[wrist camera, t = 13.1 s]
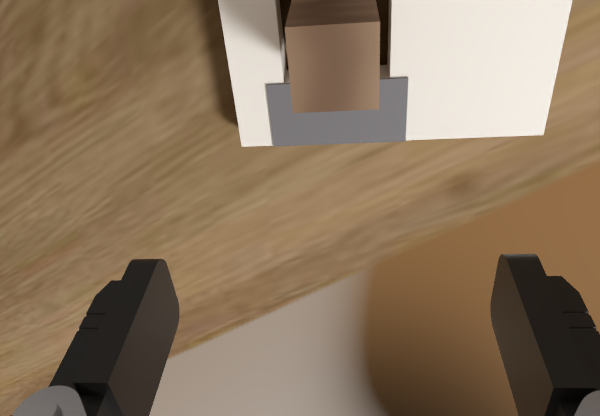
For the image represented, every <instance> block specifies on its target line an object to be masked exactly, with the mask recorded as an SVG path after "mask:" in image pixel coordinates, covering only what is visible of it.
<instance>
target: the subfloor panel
mask: <svg viewBox="0 0 600 416" xmlns="http://www.w3.org/2000/svg"><path fill="white" fill-rule="evenodd" d="M218 4H219V10H220V16H221V22H222V28H223V34H224V41H225V47H226V53H227V59H228V65H229V71H230V77H231V83H232V89H233V95H234V102H235V108H236V114H237V120H238V126H239V132H240V138H241V144H242V147H246V146H271V145H274V146H296V145H322V144H348V143H373V142H399V141H406V140H425V139H451V138H476V137H502V136H528V135H543V134H544V130H545V125H546V120H547V116H548V111H549V107H550V102H551V97H552V93H553V88H554V83H555V79H556V74H557V69H558V65H559V60H560V56H561V51H562V46H563V42H564V37H565V32H566V28H567V23H568V18H569V14H570V9H571V5H572V0H389V10H388V63H387V65H380V84H379V109H377V110H355V111H332V112H310V113H293V110H292V99H291V89H290V78H289V70H286V60H285V50H284V39H283V29H282V19H281V9H280V0H218Z"/></svg>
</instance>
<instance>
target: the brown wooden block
mask: <svg viewBox="0 0 600 416" xmlns="http://www.w3.org/2000/svg"><path fill="white" fill-rule="evenodd" d="M285 36H286V46H287V57H288V67H289V78H290V89H291V99H292V110H293V113H310V112H332V111H355V110H377V109H379V84H380V18H379V13H378V8H377V3H376V0H292V1H291V5H290V9H289V12H288V16H287V20H286V24H285Z"/></svg>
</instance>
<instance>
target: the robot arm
mask: <svg viewBox="0 0 600 416" xmlns="http://www.w3.org/2000/svg"><path fill="white" fill-rule="evenodd" d="M86 314H87V316H86V317H84V319H83V321H82V323H81V325H80V327H79V331H77V333H76V335H75V337H74V339H73V341H72V343H71V344H70V346H69V348H68V350H67V352H66V354H65V356H64V358H63V360H62V362H61V364H60V366H59V368H58V370H57V372H56V374H55V376H54V378H53V380H52V381H51V383H50V385H49V387H47V388H44V389H42V390H39V391H37V392H36V393H34V394H32V395H31V396H29V397H28V398H27V399H25V400H24V401H23V402H22V403H21V404H20V405H19V406H18V408H17V409H16V410H15V412H14V413H13V415H11V416H149V414H150V411H151V407H152V405H153V401H154V398H155V395H156V392H157V389H158V386H159V383H160V380H161V376H162V373H163V370H164V367H165V364H166V361H167V358H168V355H169V352H170V349H171V346H172V343H173V339H174V336H175V333H176V330H177V327H178V323H179V303H178V299H177V296H176V293H175V289H174V286H173V283H172V280H171V276H170V273H169V270H168V266H167V264H166V262H165V260H163V259H134V260H132V261H131V262H130V263H129V265H128V267H127V269H126V271H125V273H124V275H123V277H122V280H119V281H110V282H109V283H108V284H107V285H106V286H105V287H104V288H103V289H102V290H101V291H100V292H99V293H98V294H97V295H96V296H95V298H94V300H93V302H92V304H91V306H90V307H89V309H88V311H87V313H86ZM491 319H492V325H493V329H494V333H495V336H496V340H497V343H498V346H499V350H500V353H501V357H502V360H503V363H504V367H505V370H506V374H507V377H508V381H509V384H510V388H511V391H512V394H513V398H514V401H515V405H516V408H517V412H518V415H519V416H600V334H599V332H598V331H596V326H595V324H594V322H593V320H592V318H591V316H590V315H589V314H588V310H587V308H586V306H585V304H584V302H583V299H582V298H581V295H580V294H579V292H578V291H577V290H576V289H575V288H573V286H571V285H570V284H569V283H568V282H567V281H566V280H565V279H564V278H563V277H561V276H546V273H545V271H544V269H543V267H542V265H541V262H540V260H539V258H538V256H537V255H536V254H502V255H501V256H500V257H499V261H498V266H497V271H496V277H495V281H494V287H493V292H492V298H491Z"/></svg>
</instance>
